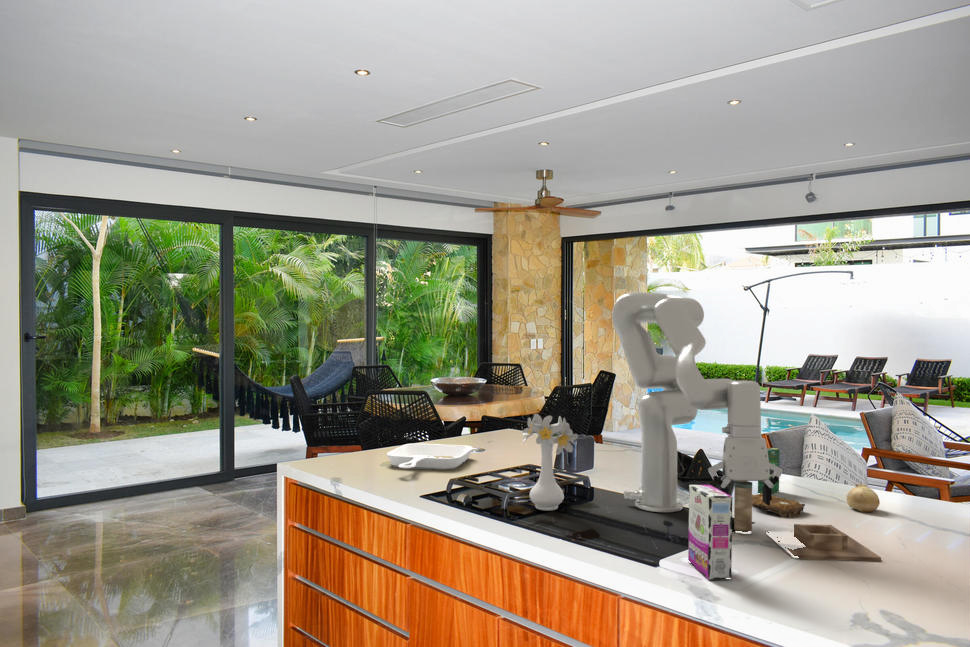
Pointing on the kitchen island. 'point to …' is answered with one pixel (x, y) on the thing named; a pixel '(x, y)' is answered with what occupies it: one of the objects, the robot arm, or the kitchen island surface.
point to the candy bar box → (710, 531)
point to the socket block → (829, 544)
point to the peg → (742, 506)
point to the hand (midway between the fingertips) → (745, 503)
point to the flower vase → (548, 459)
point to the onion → (862, 498)
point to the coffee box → (773, 459)
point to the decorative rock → (779, 505)
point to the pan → (419, 453)
